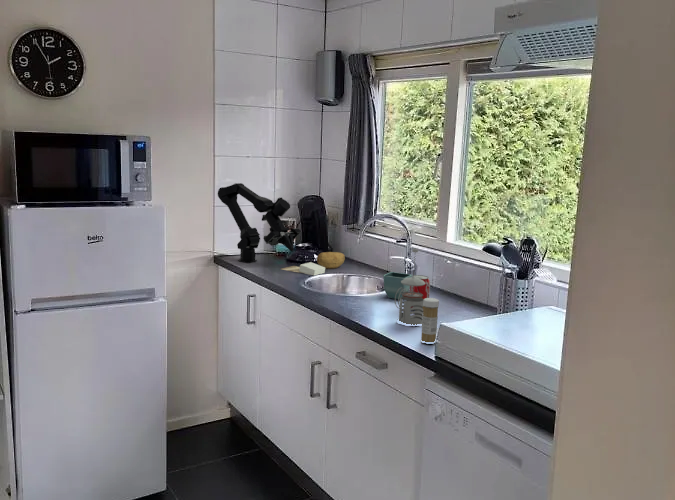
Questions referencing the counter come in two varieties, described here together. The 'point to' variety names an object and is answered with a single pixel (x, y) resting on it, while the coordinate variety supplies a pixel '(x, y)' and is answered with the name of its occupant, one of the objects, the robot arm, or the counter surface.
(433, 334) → the sprinkles bottle
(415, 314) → the french press
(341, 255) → the potato
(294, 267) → the board
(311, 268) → the tile
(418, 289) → the soda can
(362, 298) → the counter surface
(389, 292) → the flower pot
